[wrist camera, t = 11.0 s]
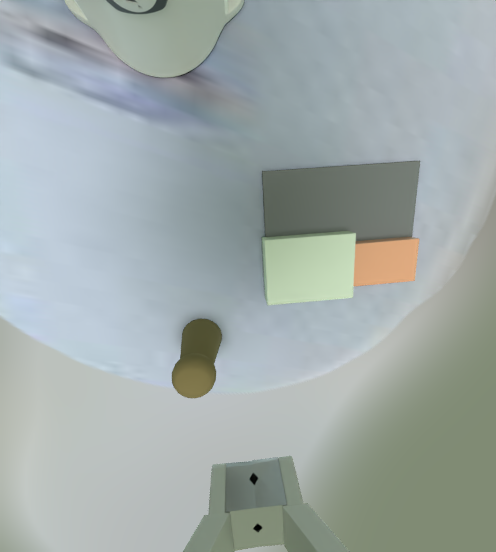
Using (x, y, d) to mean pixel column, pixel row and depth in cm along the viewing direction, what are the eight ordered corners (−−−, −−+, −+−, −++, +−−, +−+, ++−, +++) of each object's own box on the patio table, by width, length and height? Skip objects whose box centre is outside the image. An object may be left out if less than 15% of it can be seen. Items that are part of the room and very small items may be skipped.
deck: (261, 237, 37) (264, 240, 34) (346, 230, 37) (355, 233, 34) (265, 297, 39) (267, 305, 36) (343, 290, 40) (352, 297, 37)
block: (347, 241, 37) (354, 244, 35) (409, 236, 38) (419, 238, 36) (346, 282, 39) (352, 286, 37) (405, 276, 39) (414, 280, 37)
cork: (229, 330, 40) (229, 376, 30) (209, 360, 42) (202, 414, 31) (194, 311, 39) (181, 353, 29) (174, 343, 40) (155, 393, 30)
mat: (262, 171, 34) (262, 171, 34) (418, 161, 35) (420, 160, 35) (267, 287, 39) (268, 288, 38) (405, 275, 40) (407, 276, 39)
